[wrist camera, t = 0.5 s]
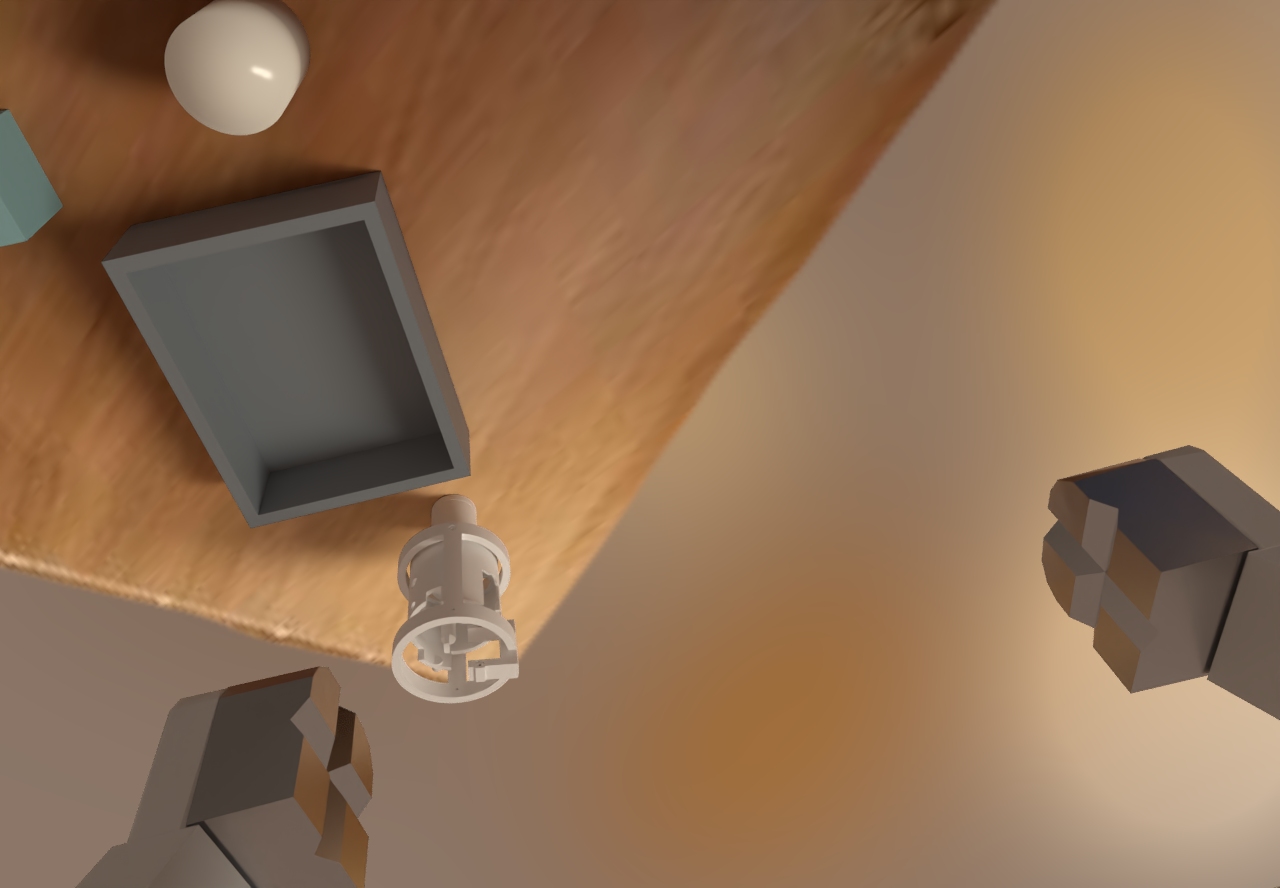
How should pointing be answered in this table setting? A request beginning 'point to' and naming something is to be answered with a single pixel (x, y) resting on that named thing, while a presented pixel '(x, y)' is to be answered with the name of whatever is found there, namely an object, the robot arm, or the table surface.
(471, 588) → the grey slotted cylindrical housing
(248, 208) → the tote
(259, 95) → the cream capsule
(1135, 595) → the robot arm
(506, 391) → the table surface
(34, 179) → the teal cube
